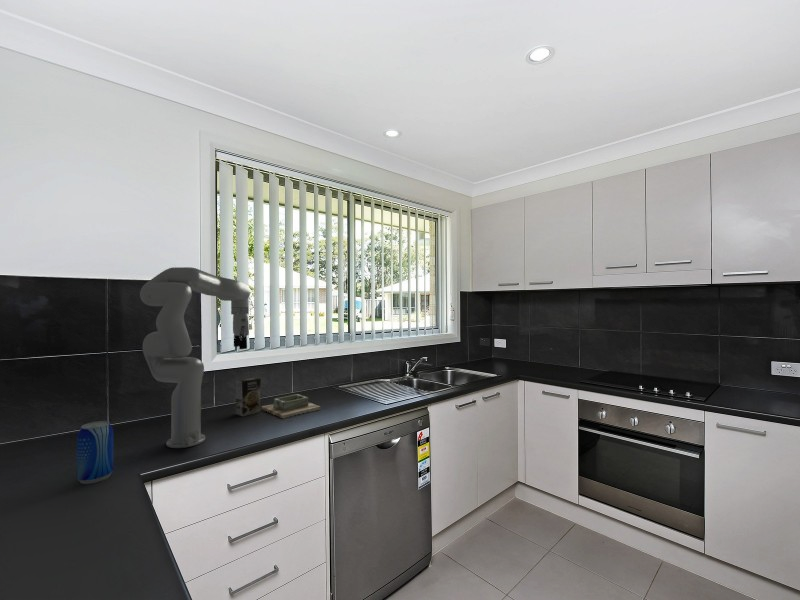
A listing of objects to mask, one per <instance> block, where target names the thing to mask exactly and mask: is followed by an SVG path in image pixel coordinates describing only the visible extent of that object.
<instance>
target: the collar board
mask: <svg viewBox="0 0 800 600" xmlns="http://www.w3.org/2000/svg"><path fill="white" fill-rule="evenodd" d="M261 410H262V411H263V412H266V411H267V413H268V412H269V414H271V415H273V416H275V415H276V417H277V416H278V418H280V419H282V418H283V419H287V418H291V417H295V416H294V415H296V416H298V414H300V415H304V414H307V412H308V413H311V412H316V411H319V410H321V406H320V405H317V404H314V403H312V402H309V397H308V396H305V395H302V394H299V393H297V394H295V393H294V394H291V395H285V396H280V397H276V398H273V403H270V404H267V405H262V406H261ZM303 413H304V414H303ZM290 416H291V417H290ZM286 417H287V418H286Z"/></svg>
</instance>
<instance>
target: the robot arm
mask: <svg viewBox="0 0 800 600" xmlns="http://www.w3.org/2000/svg"><path fill="white" fill-rule="evenodd" d="M192 292H196V293H198V294H202V295H205V296H210V297H211V296H212V297H217V299H218V300H221V301H224V302H225V301H227V302H230V314H231V315H232V334H233V347H234V348H237V347H239V350H247V349H248V336H249V335H250V329H249V327H250V326H249V317H248V315H249V311H250V310H249V309H250V306H249V298H250V296H251V290H250V287H249V285H247V283H244V282H243V281H240V280H236V279H232V278H228V277H227V278H226V277H223V276H219V275H218V276H217V275H215V274H212V273H209V272H206V271H204V270H202V269H198V268H195V267H192V266H191V267H190V266H188V267H187V266H186V267H180V266H178V267H175V266H174V267H168V268H166V269H165V270H162V272H160V273H158V274H157V275H155V276H154V277H152V278H151V279H150V280H148V281H147V282H146V283H144V285H143V286H142V287H141V289H140V292H139V298H140V300H141V302H142V303H144V304H145V305H147V306H150V307H162V308H161V310H160V311H159V313H158V314H157V317H156V320H155V325H156V326H155V327H156V330H157V331H153V332H150V333H148V334H147V335H145V337H144V339H143V341H142V353H143V356H144V358H145V361H146V363H147V366H148V368H149V371H150V373H151V375H152V377H153V379H155V380H156V381H158V382H161V383H175V384H176V387H175V388H174V390H173V391H172V394H171V401H170V402H171V414H170V415H171V417H170V419H171V422H170V423H171V426H170V427H171V431H170V432H171V433H170V434H171V436H170V437H171V438H169V439H168V440H166V441H165V442H166V446H167V447H168V448H171V449H184V448H189V447H193V446H194V447H195V446H197V445H200V444H202V443H203V442H204V441H205V440H206V435H205V434H203V433H201V429H202V427H201V426H202V424H201V420H202V419H201V418H202V417H201V416H202V414H201V413H202V403H201V402H202V399H201V398H202V394H201V393H202V382H203V377H204V373H205V366H204V363H203V361H202V360H201V359H199V358H198V357H193V356H189V355H190V354H191V353H192V350H193V346H192V341H191V338H190V334H189V331H188V329H187V325H186V323H185V313H186V311H187V310H186V309H187V308H188V305H189V303H190V301H191V300H192V296H193V293H192Z"/></svg>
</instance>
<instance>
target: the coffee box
mask: <svg viewBox="0 0 800 600" xmlns="http://www.w3.org/2000/svg"><path fill="white" fill-rule="evenodd" d="M235 381H236V382H235V384H236V386H235V387H236V388H235V390H236V391H235V415H238V416H241V417H246V416H249V415H255V414H257V413H258V414H259V413H261V389H262V388H261V384H262V383H261V382H262V381H261V378H260V377H254V376H252V377H245V378H240V379H239V378H238V379H236V380H235Z"/></svg>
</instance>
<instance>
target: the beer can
mask: <svg viewBox="0 0 800 600" xmlns="http://www.w3.org/2000/svg"><path fill="white" fill-rule="evenodd" d="M113 472H114V428H113V427H112V425H111V424H110V421H108V420H99V421H91V422H88V423H84V424H82V425H81V426H80V430H79V431H78V433H77V435H76V479H77V480H78V481H79V483H80V484H82V485H90V484H96V483H98V482H102V481H104V480H107V479H108V478H110V477H111V474H112V473H113Z"/></svg>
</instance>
